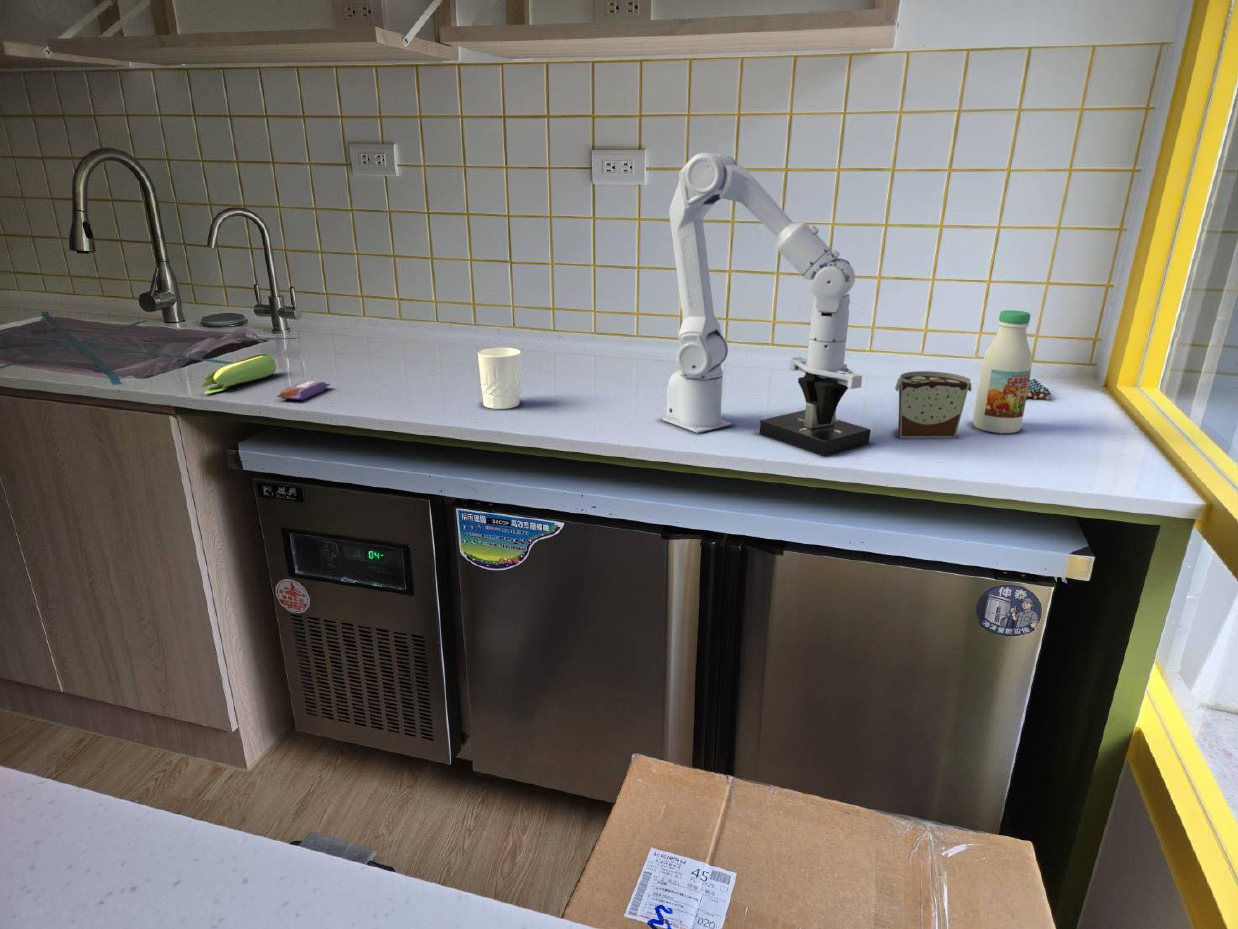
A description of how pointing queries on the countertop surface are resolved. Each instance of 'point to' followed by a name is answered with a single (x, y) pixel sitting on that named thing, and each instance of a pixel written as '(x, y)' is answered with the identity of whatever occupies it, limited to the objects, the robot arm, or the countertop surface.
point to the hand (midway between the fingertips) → (819, 421)
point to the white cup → (500, 377)
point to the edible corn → (241, 372)
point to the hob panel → (814, 434)
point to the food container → (930, 404)
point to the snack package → (303, 390)
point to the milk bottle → (1004, 376)
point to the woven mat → (1037, 390)
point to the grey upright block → (814, 416)
